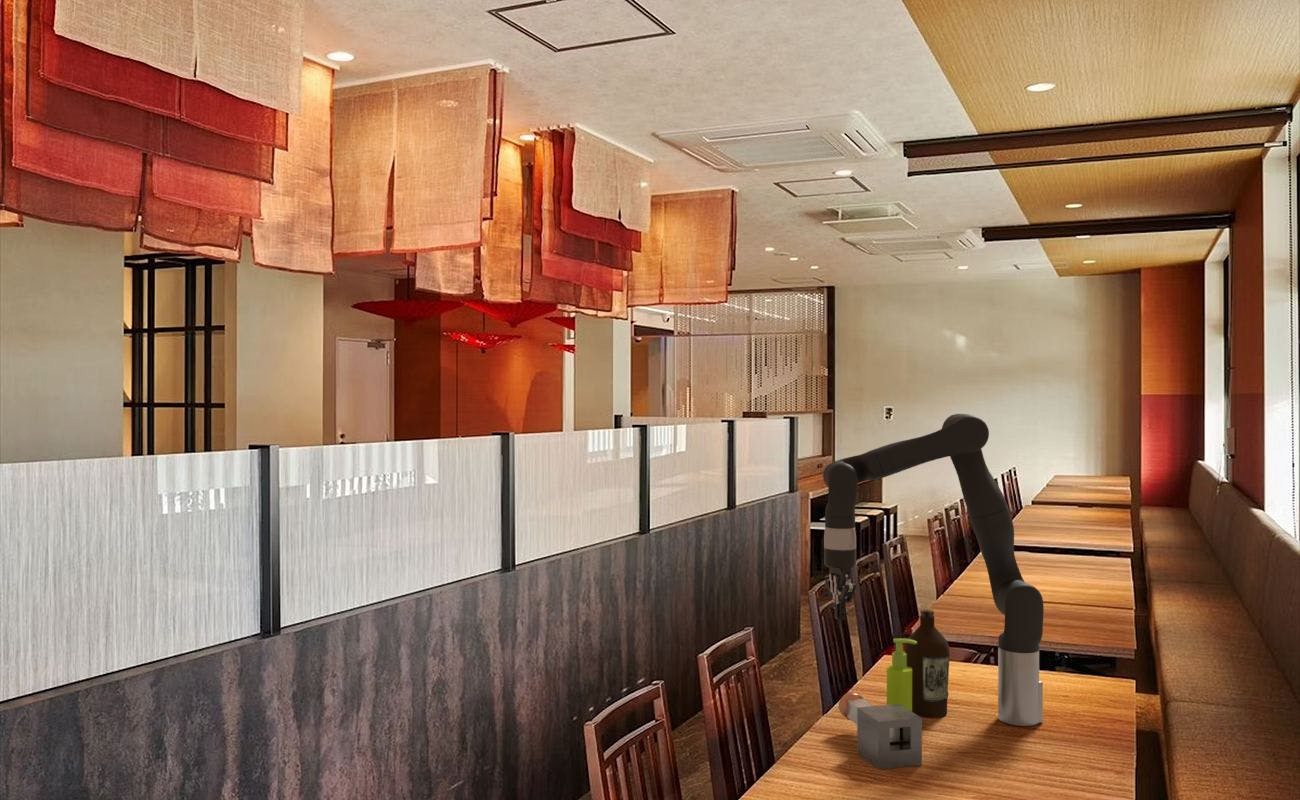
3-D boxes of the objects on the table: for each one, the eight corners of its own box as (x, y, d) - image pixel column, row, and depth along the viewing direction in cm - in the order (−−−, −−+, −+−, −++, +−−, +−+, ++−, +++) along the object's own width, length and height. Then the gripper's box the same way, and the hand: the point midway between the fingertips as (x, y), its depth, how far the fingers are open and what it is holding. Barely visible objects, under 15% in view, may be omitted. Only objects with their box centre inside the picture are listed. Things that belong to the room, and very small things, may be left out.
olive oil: (896, 708, 258) (896, 607, 258) (934, 704, 261) (934, 604, 261) (919, 721, 248) (919, 616, 248) (958, 716, 251) (958, 613, 251)
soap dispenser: (917, 728, 243) (917, 642, 243) (886, 726, 244) (887, 641, 244) (916, 720, 248) (916, 636, 248) (886, 718, 250) (886, 635, 250)
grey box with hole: (899, 749, 229) (899, 703, 228) (921, 765, 219) (921, 717, 219) (857, 753, 226) (857, 707, 226) (878, 769, 216) (878, 721, 216)
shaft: (862, 716, 242) (862, 691, 242) (904, 745, 222) (904, 717, 222) (838, 718, 240) (838, 693, 240) (878, 748, 221) (878, 719, 221)
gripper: (867, 549, 241) (867, 624, 241) (842, 541, 254) (842, 612, 254) (837, 551, 239) (837, 626, 239) (814, 542, 252) (814, 614, 252)
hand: (839, 619), depth 246 cm, fingers closed
